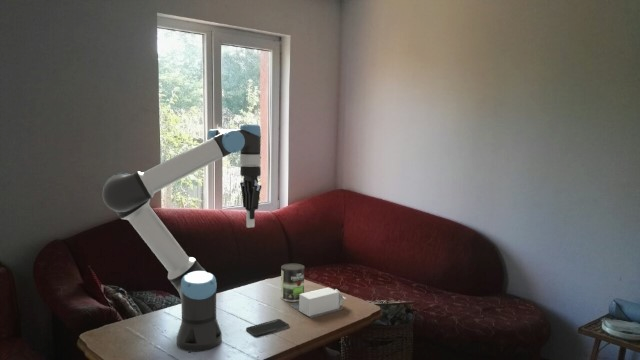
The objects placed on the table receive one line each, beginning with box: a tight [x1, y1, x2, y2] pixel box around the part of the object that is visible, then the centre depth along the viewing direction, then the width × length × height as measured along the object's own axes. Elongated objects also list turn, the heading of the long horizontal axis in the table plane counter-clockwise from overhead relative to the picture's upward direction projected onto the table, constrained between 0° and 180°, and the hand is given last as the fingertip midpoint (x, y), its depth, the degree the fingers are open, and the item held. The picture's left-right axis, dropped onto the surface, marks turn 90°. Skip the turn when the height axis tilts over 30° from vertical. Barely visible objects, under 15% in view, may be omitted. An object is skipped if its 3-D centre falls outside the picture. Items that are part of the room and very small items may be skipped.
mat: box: [289, 301, 344, 319], centre depth 197 cm, size 16×16×1 cm
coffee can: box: [280, 262, 306, 303], centre depth 207 cm, size 10×10×14 cm
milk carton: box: [298, 287, 347, 317], centre depth 194 cm, size 7×7×19 cm
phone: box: [245, 318, 290, 338], centre depth 176 cm, size 8×1×15 cm
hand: (250, 226), depth 181 cm, fingers closed
